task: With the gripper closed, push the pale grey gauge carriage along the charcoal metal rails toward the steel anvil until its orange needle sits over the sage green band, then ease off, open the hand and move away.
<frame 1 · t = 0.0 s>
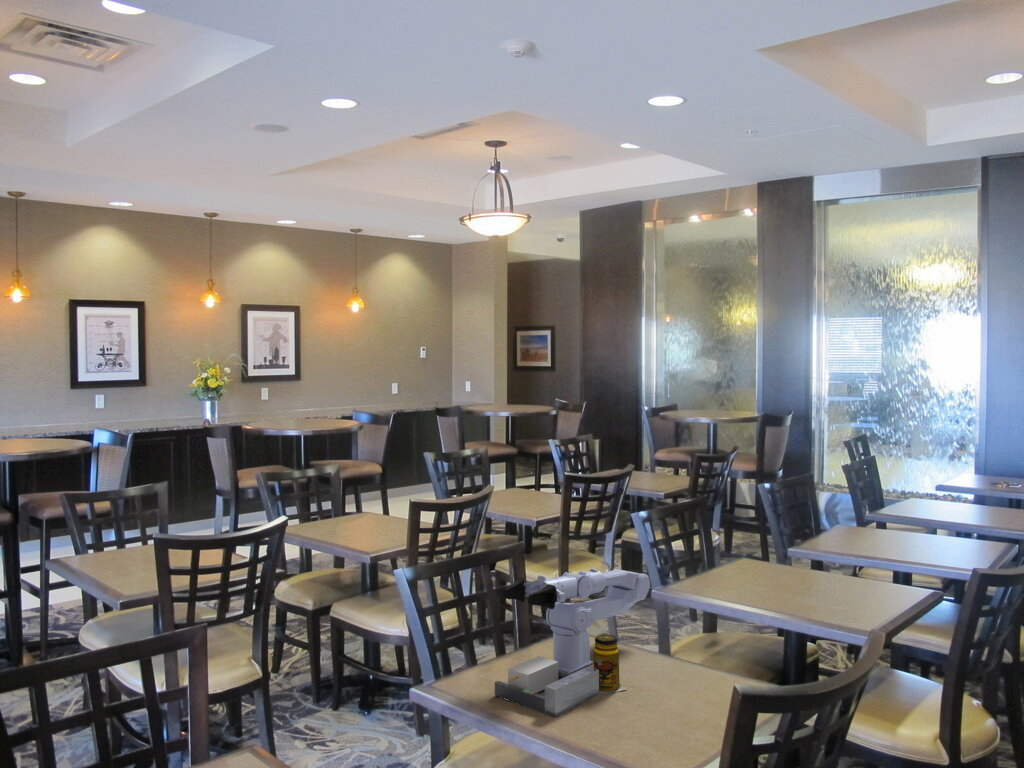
hand: (517, 596, 196), 22 cm above the table, tool horizontal, fingers open, 7 cm apart
gauge carriage: (530, 677, 194), point 4 cm above the table, slide at 0.0 cm
condiment: (605, 686, 198), on the table
gauge frame: (546, 695, 192), on the table
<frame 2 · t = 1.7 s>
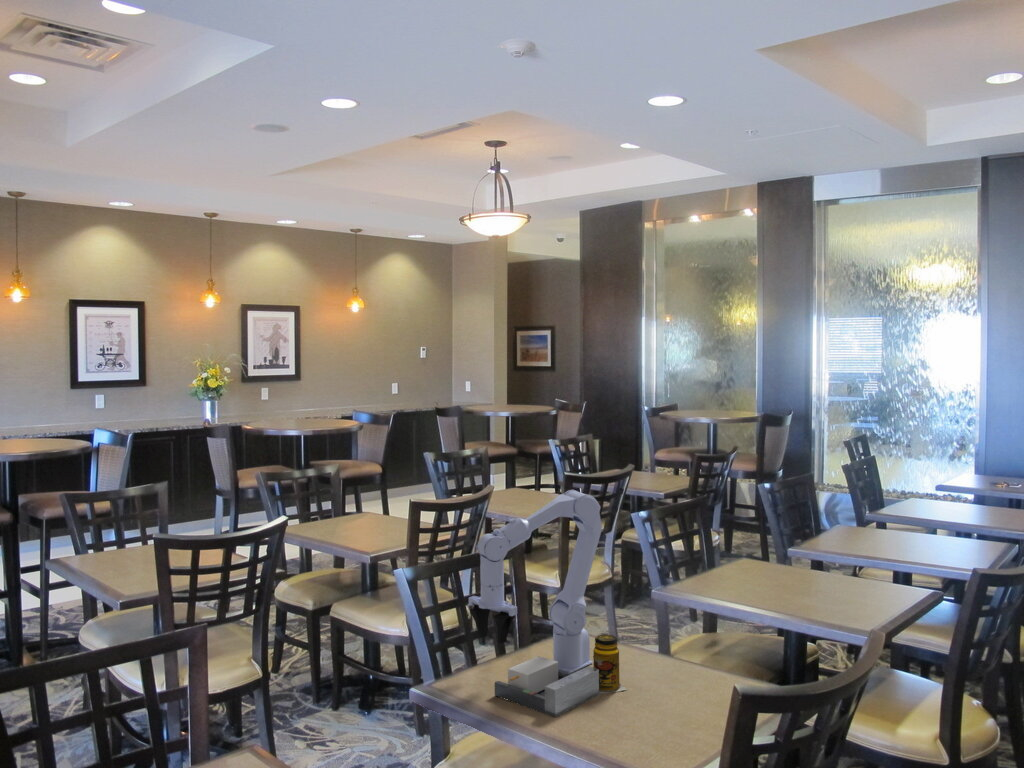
hand: (492, 639, 203), 9 cm above the table, tool pointing down, fingers open, 6 cm apart
nothing on the table moved.
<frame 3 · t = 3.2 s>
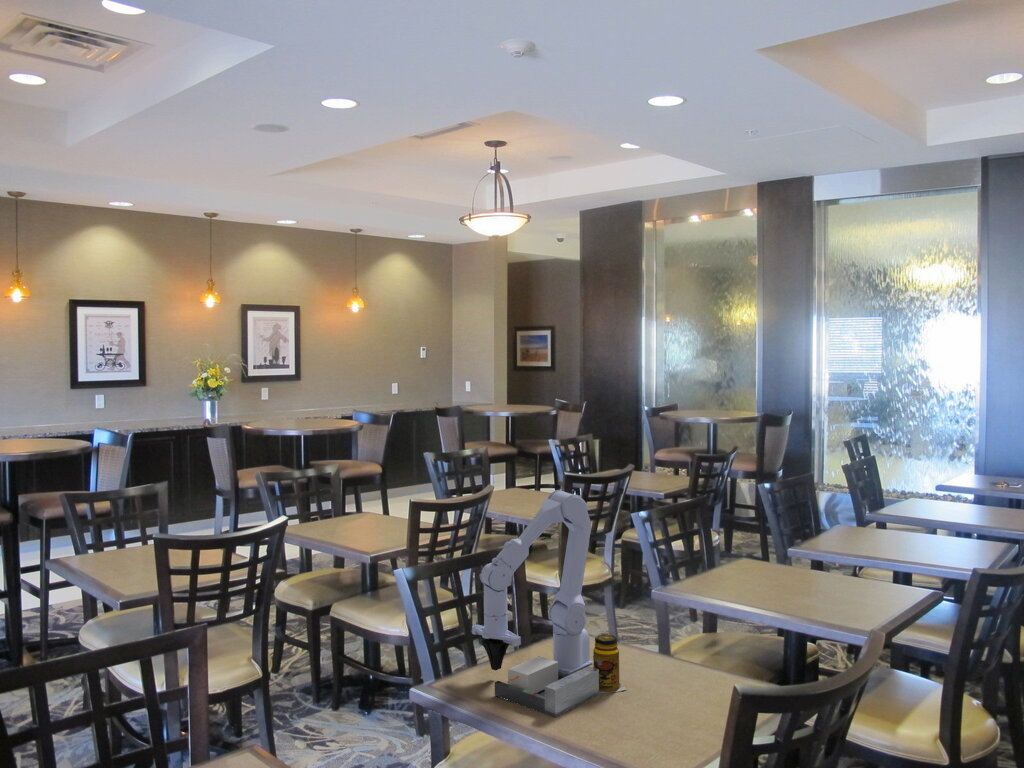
hand: (496, 668, 203), 2 cm above the table, tool pointing down, fingers closed
nothing on the table moved.
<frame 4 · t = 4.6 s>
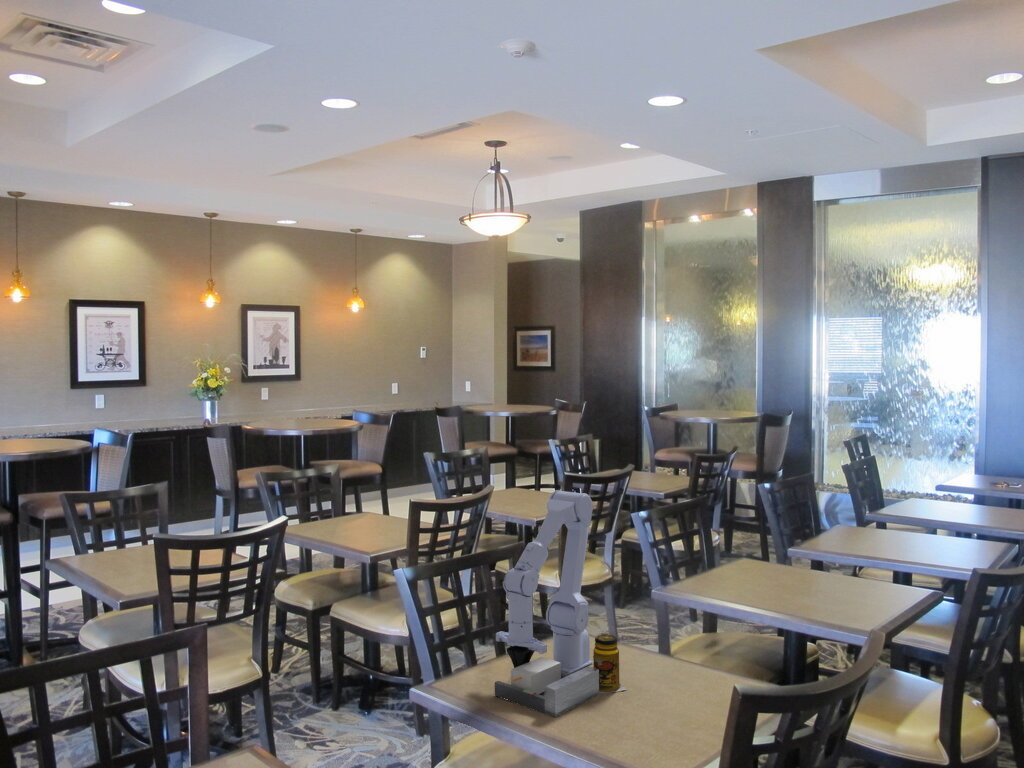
hand: (521, 676, 197), 2 cm above the table, tool pointing down, fingers closed
gauge carriage: (532, 678, 193), point 4 cm above the table, slide at 0.8 cm, touching gripper
everything else where it was.
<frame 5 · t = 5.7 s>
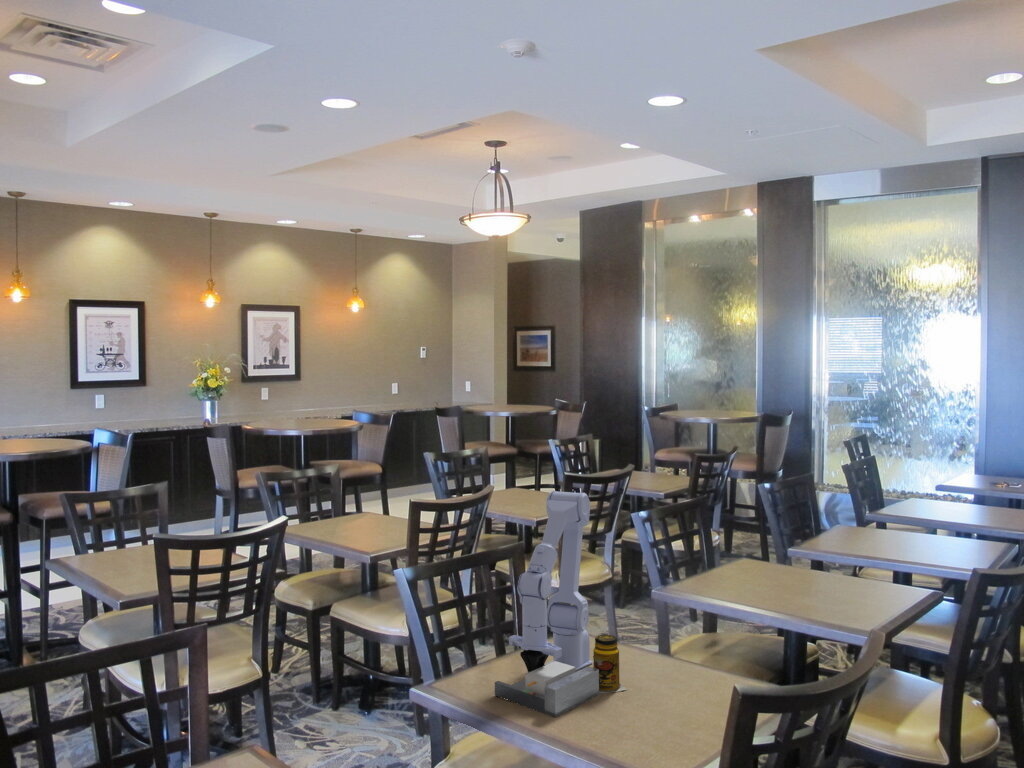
hand: (535, 681, 195), 2 cm above the table, tool pointing down, fingers closed
gauge carriage: (547, 682, 190), point 4 cm above the table, slide at 5.2 cm, touching gripper
everything else where it was.
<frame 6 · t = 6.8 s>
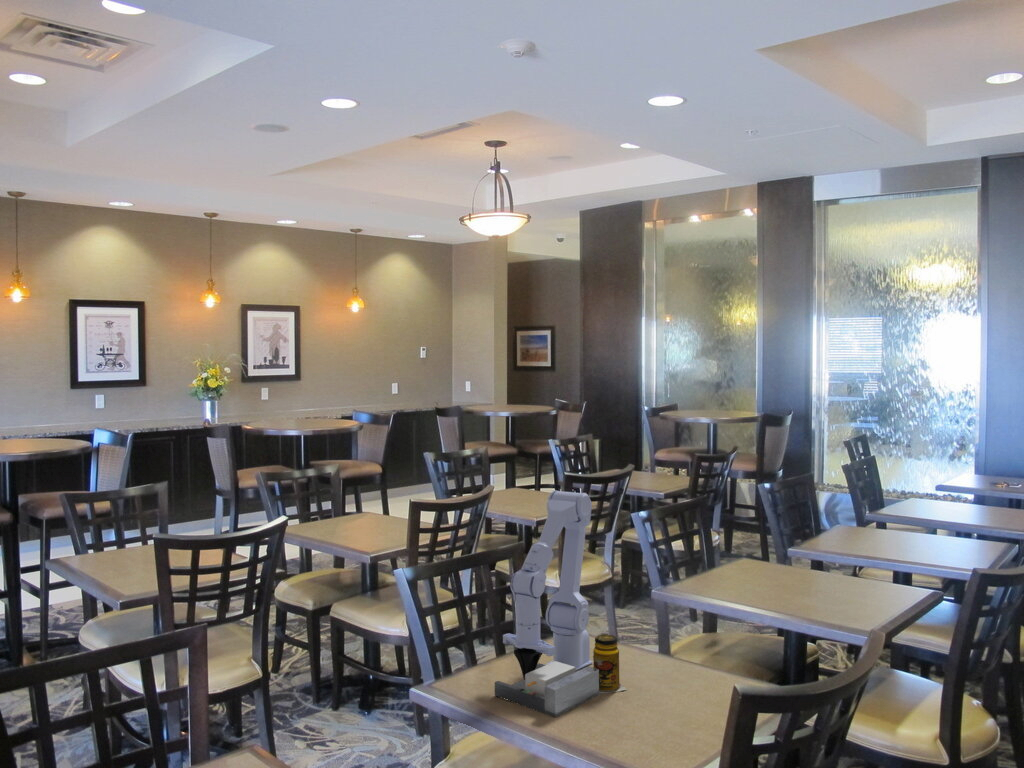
hand: (528, 679, 196), 2 cm above the table, tool pointing down, fingers closed
gauge carriage: (547, 682, 190), point 4 cm above the table, slide at 5.2 cm
everything else where it was.
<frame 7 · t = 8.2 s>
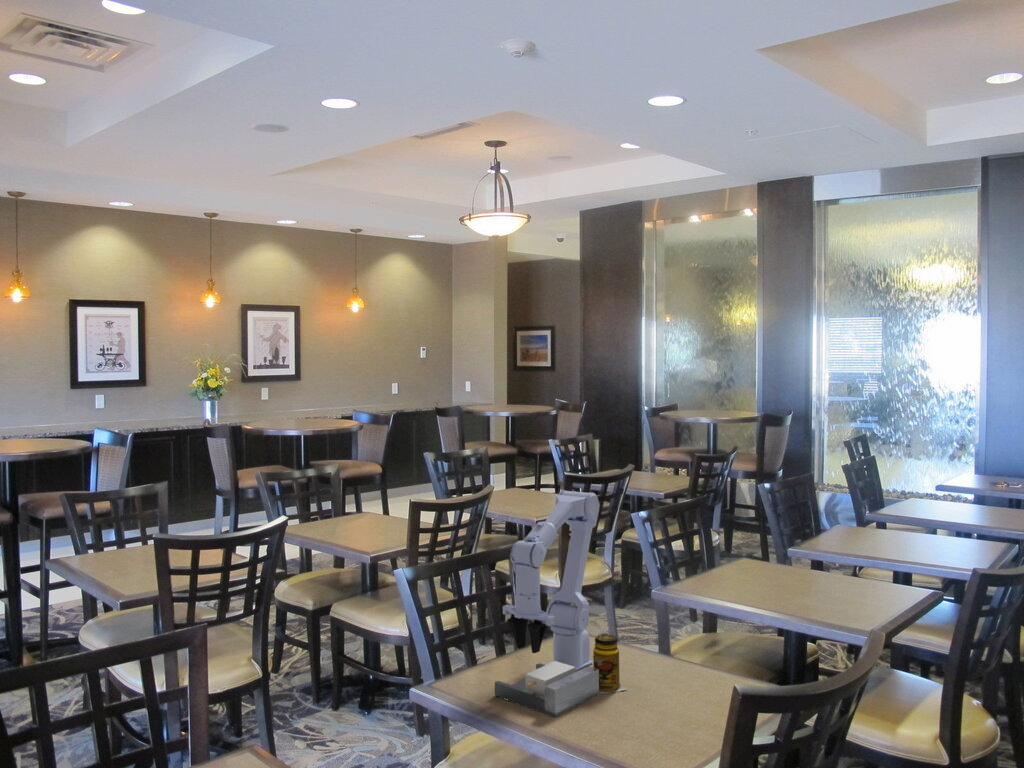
hand: (528, 649, 196), 9 cm above the table, tool pointing down, fingers open, 4 cm apart
nothing on the table moved.
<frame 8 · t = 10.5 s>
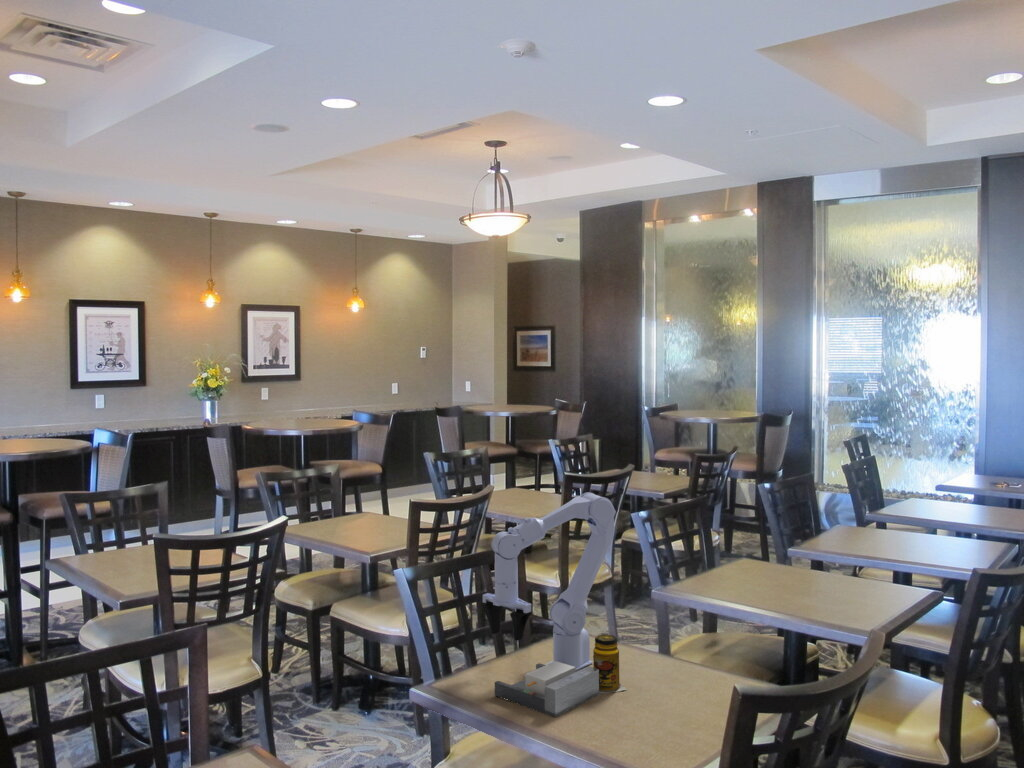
hand: (506, 636, 206), 9 cm above the table, tool pointing down, fingers open, 7 cm apart
nothing on the table moved.
at the end: gauge carriage slide at 5.2 cm; condiment moved 0.6 cm from its start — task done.
